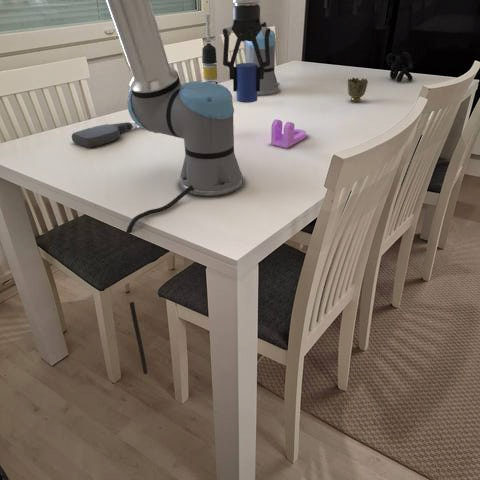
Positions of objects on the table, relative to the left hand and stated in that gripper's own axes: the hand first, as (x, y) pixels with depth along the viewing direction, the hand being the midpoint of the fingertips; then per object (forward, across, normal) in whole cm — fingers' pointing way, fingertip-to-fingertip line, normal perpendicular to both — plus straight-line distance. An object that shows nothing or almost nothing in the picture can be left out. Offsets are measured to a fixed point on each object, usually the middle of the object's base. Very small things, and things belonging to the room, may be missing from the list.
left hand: (246, 90), depth 134 cm
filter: (+13, +17, -43) cm, 48 cm away
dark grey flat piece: (+14, +42, +2) cm, 45 cm away
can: (+3, 0, 0) cm, 3 cm away
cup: (+13, -40, -39) cm, 57 cm away
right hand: (-14, -36, -72) cm, 81 cm away
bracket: (+14, -14, +6) cm, 20 cm away
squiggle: (+12, -65, -75) cm, 100 cm away
